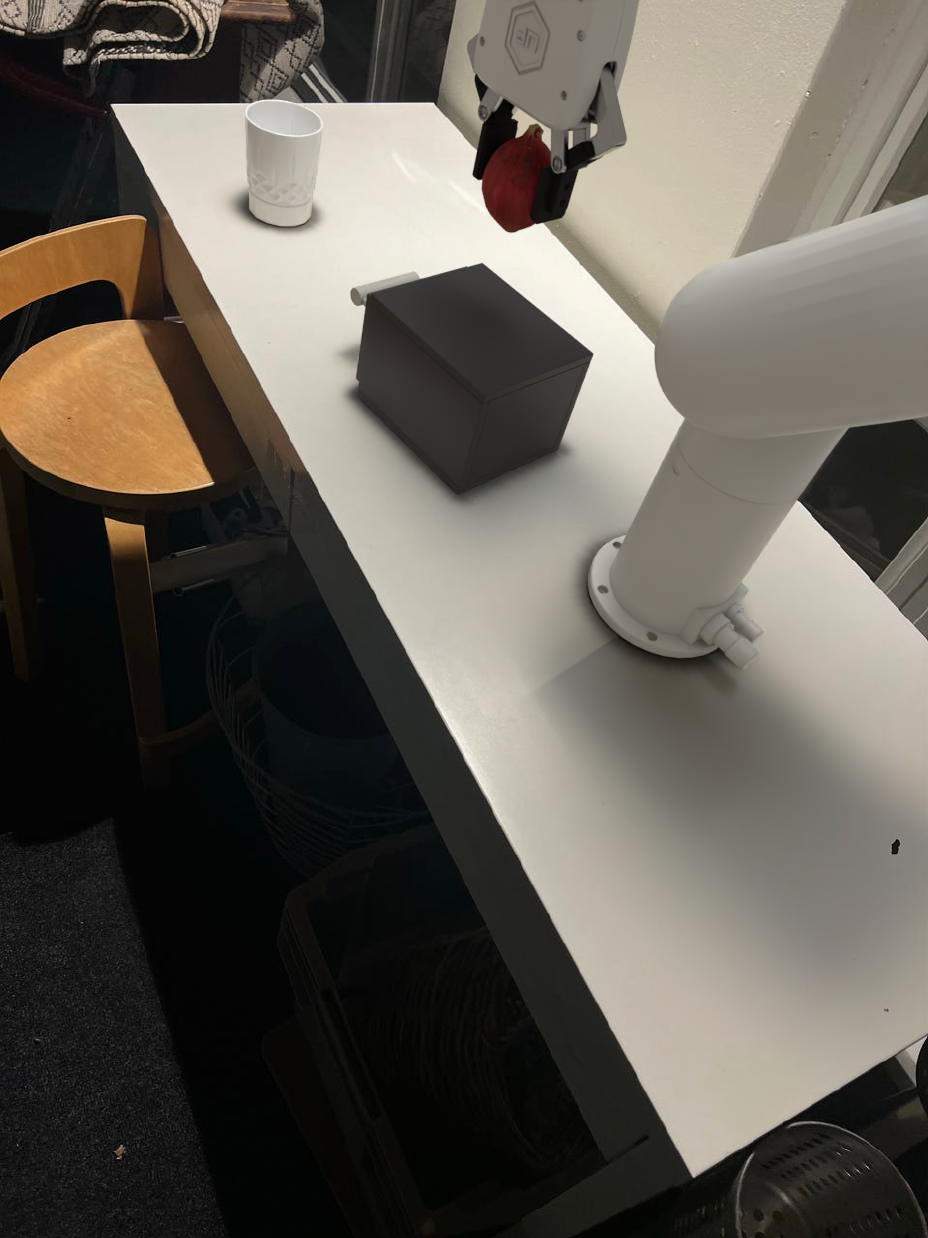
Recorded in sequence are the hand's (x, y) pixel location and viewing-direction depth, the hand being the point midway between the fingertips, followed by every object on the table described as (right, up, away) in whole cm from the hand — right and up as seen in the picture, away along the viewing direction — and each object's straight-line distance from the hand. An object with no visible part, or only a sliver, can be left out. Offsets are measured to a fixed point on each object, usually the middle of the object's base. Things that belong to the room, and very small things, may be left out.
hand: (518, 194), depth 68 cm
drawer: (-7, -11, +16) cm, 20 cm away
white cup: (-25, +13, +32) cm, 42 cm away
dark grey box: (-5, -14, +15) cm, 21 cm away
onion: (-1, -2, +2) cm, 3 cm away
